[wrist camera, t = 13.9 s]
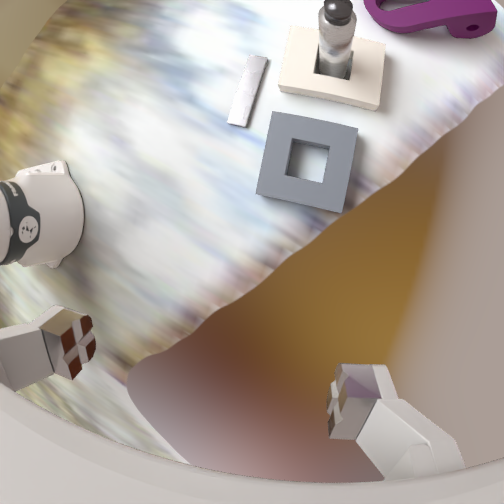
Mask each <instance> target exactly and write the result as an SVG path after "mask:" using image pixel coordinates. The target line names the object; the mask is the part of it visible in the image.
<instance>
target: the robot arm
mask: <svg viewBox="0 0 504 504" xmlns="http://www.w3.org/2000/svg"><path fill="white" fill-rule="evenodd" d="M83 221H84V212H83V204H82V199H81V196H80V193H79V190H78V188H77V186H76V185H75V183H74V182H73V180H72V179H71V177H70V175H69V171H68V167H67V164H66V162H65V161H56V162H51V163H47V164H43V165H38V166H34V167H30V168H27V169H23V170H19V171H18V172H17V174H16V177H15V178H12V179H9V180H6V181H0V265H8V264H11V263H13V262H16V261H17V262H18V263H19V264H21V265H22V266H23V267H28V266H33V265H39V264H44V263H45V264H46V265H47V266H49V267H50V268H57V267H58V266H59V264H60V262H61V261H62V259H63V258H64V257H65V256H67V255H68V254H70V253H71V252H72V251H73V250H74V249H75V248H76V246H77V244H78V242H79V240H80V237H81V234H82V229H83ZM92 327H93V324H92V320H91V317H89V316H88V315H86V314H83V313H80V312H77V311H74V310H71V309H68V308H65V307H62V306H59V305H53V306H52V307H51V308H49V309H48V310H47V311H45V312H44V313H42V314H41V315H40V316H38V317H37V318H36V319H34V320H33V321H32V322H30V323H29V324H27V323H23V324H19V325H15V326H10V327H6V328H2V329H0V504H504V458H500V459H497V460H494V461H491V462H488V463H484V464H480V465H477V466H473V467H468V468H466V467H465V464H464V461H463V459H462V456H461V453H460V451H459V448H458V446H457V443H456V441H455V439H454V438H453V437H451V436H450V435H449V434H447V433H446V432H445V431H444V430H442V429H441V428H440V427H438V426H437V425H436V424H434V423H433V422H432V421H430V420H429V419H428V418H427V417H425V416H424V415H423V414H421V413H420V412H419V411H418V410H416V409H415V408H414V407H412V406H411V405H410V404H409V403H407V402H406V401H405V400H403V399H399V398H398V395H397V393H396V390H395V387H394V384H393V382H392V380H391V377H390V374H389V371H388V369H387V367H386V366H385V365H373V364H370V365H361V364H348V363H339V364H338V365H337V367H336V370H335V381H334V382H332V383H331V385H330V388H329V391H328V396H327V412H328V413H329V414H330V415H331V416H330V419H329V421H328V431H329V438H332V439H349V440H356V442H357V443H358V445H359V446H360V447H361V448H362V450H363V451H364V452H365V454H366V455H367V456H368V457H369V458H370V460H371V461H372V462H373V463H374V465H375V466H376V467H377V468H378V470H379V471H380V472H381V473H382V474H383V476H384V477H385V479H384V480H383V481H377V482H357V483H317V482H298V481H285V480H274V479H264V478H257V477H250V476H243V475H237V474H231V473H225V472H219V471H215V470H210V469H206V468H201V467H197V466H192V465H188V464H184V463H180V462H177V461H173V460H169V459H166V458H162V457H159V456H156V455H153V454H149V453H146V452H143V451H140V450H137V449H134V448H132V447H129V446H126V445H123V444H121V443H118V442H115V441H113V440H110V439H108V438H105V437H103V436H100V435H98V434H95V433H93V432H91V431H89V430H86V429H84V428H82V427H80V426H77V425H75V424H73V423H71V422H69V421H67V420H65V419H63V418H61V417H59V416H57V415H55V414H53V413H51V412H49V411H47V410H46V409H44V408H42V407H40V406H38V405H37V404H35V403H33V402H31V401H30V400H28V399H26V398H24V397H23V396H21V395H19V394H18V393H16V391H18V390H20V389H22V388H24V387H27V386H29V385H31V384H33V383H35V382H38V381H40V380H42V379H44V378H46V377H48V376H51V375H53V374H54V373H56V374H58V375H61V376H63V377H65V378H68V379H71V380H73V379H74V378H75V377H76V376H77V374H78V373H79V372H80V371H81V370H82V364H84V363H87V362H89V361H90V360H91V358H92V357H93V355H94V352H95V350H96V341H95V337H94V335H93V334H92V332H91V329H92Z"/></svg>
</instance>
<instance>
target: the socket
mask: <svg viewBox="0 0 504 504" xmlns="http://www.w3.org/2000/svg"><path fill="white" fill-rule="evenodd" d="M357 133H358V128H354V127H350V126H345V125H341V124H337V123H332V122H328V121H323V120H318V119H314V118H309V117H303V116H298V115H292V114H287V113H281V112H274V111H272V116H271V121H270V125H269V130H268V135H267V140H266V145H265V150H264V155H263V159H262V164H261V169H260V174H259V179H258V184H257V189H256V194H258V195H263V196H267V197H272V198H277V199H281V200H286V201H290V202H295V203H299V204H304V205H308V206H312V207H317V208H321V209H325V210H329V211H333V212H338V213H342V210H343V205H344V200H345V196H346V191H347V186H348V181H349V176H350V171H351V166H352V161H353V156H354V150H355V145H356V139H357ZM293 142H297V143H302V144H307V145H312V146H317V147H321V148H326V149H329V153H328V158H327V163H326V168H325V173H324V178H323V183H319V182H314V181H310V180H306V179H301V178H296V177H292V176H287V171H288V166H289V162H290V157H291V152H292V147H293Z"/></svg>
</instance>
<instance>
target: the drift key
mask: <svg viewBox="0 0 504 504" xmlns="http://www.w3.org/2000/svg"><path fill="white" fill-rule="evenodd" d="M267 61H268V59H267V57H261V56H255V55H249V57H248V60H247V63H246V66H245V69H244V71H243V74H242V77H241V80H240V83H239V86H238V90H237V93H236V96H235V99H234V102H233V105H232V108H231V111H230V115H229V118H228V121H227V123H228V124H232V125H236V126H241V127H245V128H247V124H248V121H249V118H250V114H251V111H252V108H253V105H254V102H255V98H256V95H257V92H258V89H259V86H260V83H261V80H262V77H263V74H264V70H265V67H266V64H267Z"/></svg>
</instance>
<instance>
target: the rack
mask: <svg viewBox="0 0 504 504" xmlns="http://www.w3.org/2000/svg"><path fill="white" fill-rule="evenodd" d="M385 45H386V44H383V43H379V42H375V41H371V40H367V39H363V38H359V37H355V36H353V41H352V46H351V51H350V56H349V59H352V64H351V72H350V79H349V80H345V79H340V78H335V77H330V76H325V75H320V74H315V70H316V64H317V58H318V53H319V29H312V28H305V27H298V26H290V31H289V35H288V40H287V45H286V49H285V54H284V59H283V63H282V68H281V73H280V78H279V82H278V86H279V89H280V91H281V92H287V93H294V94H300V95H305V96H311V97H316V98H321V99H326V100H331V101H335V102H340V103H344V104H348V105H353V106H357V107H361V108H365V109H368V110H372V111H376V109H377V108H378V107H379V102H380V94H381V86H382V77H383V67H384V57H385Z"/></svg>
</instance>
